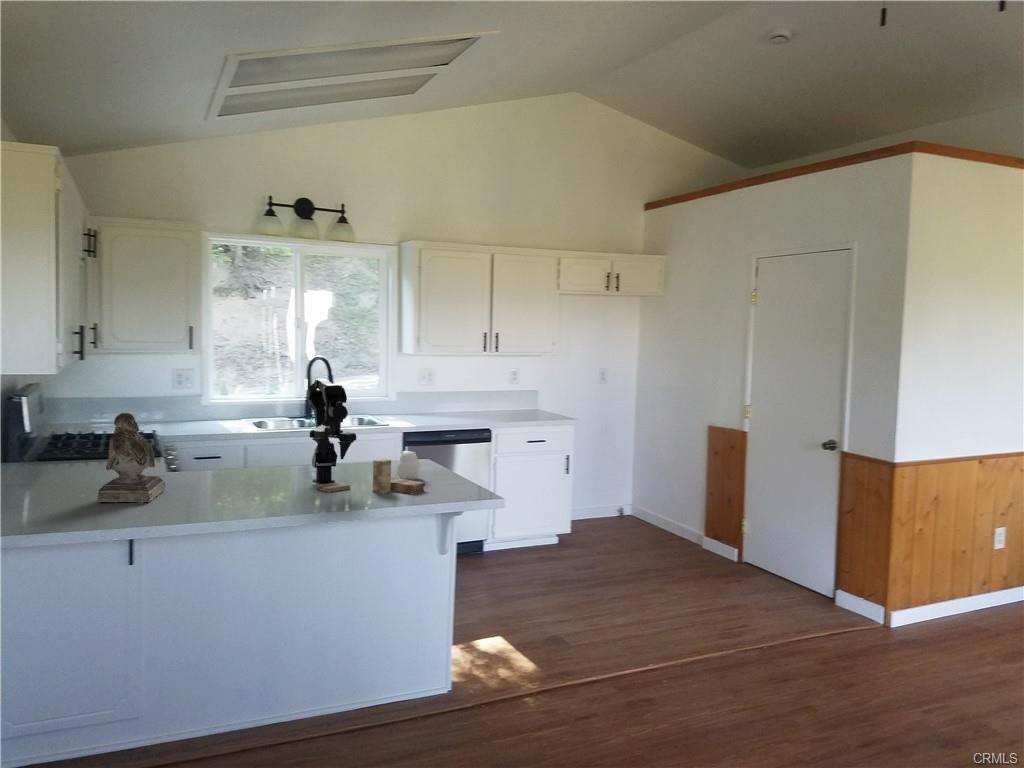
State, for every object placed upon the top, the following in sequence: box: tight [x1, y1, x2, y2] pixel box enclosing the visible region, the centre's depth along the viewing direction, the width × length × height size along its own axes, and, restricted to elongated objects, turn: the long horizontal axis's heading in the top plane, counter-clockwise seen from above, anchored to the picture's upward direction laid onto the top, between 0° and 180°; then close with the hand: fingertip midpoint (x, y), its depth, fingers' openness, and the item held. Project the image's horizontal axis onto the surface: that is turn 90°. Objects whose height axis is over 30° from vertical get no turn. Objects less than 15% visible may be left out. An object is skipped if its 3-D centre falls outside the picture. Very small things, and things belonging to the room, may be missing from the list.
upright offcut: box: [372, 458, 392, 494], centre depth 283 cm, size 5×4×12 cm
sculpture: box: [97, 412, 166, 503], centre depth 262 cm, size 19×17×30 cm
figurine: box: [396, 450, 422, 481], centre depth 305 cm, size 10×10×12 cm
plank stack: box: [391, 476, 426, 494], centre depth 287 cm, size 17×7×3 cm, turn 62°
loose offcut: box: [316, 481, 351, 493], centre depth 285 cm, size 7×10×2 cm
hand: (332, 457), depth 284 cm, fingers open, 9 cm apart
